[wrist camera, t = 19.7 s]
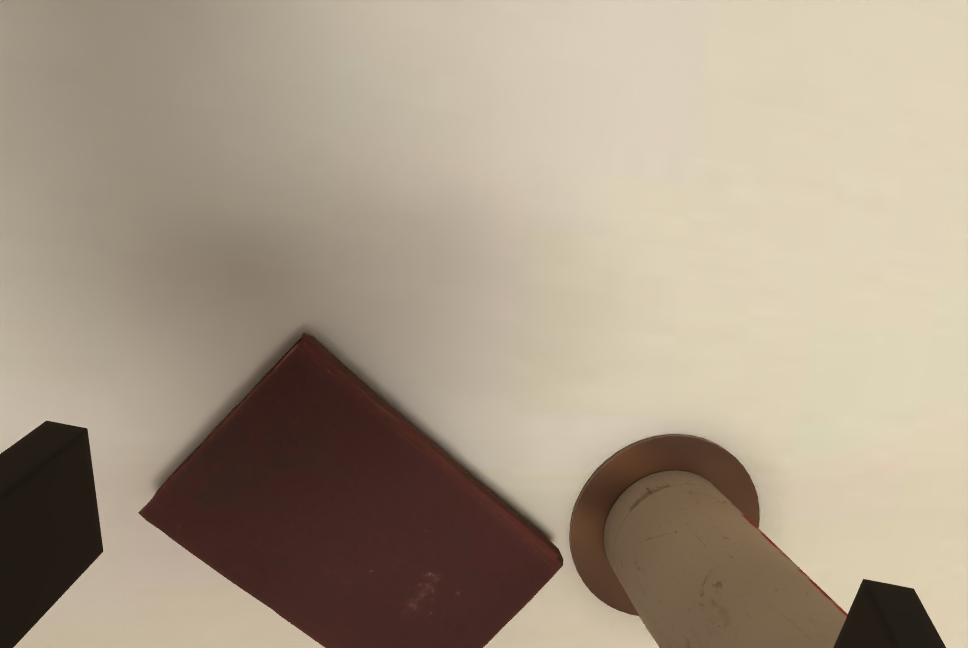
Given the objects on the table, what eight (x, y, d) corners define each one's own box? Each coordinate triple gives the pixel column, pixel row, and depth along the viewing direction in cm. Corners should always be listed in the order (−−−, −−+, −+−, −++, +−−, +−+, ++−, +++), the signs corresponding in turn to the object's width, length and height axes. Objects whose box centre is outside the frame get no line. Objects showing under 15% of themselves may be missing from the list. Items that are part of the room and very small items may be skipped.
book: (309, 324, 38) (302, 339, 35) (556, 539, 43) (570, 569, 40) (152, 489, 39) (132, 518, 36) (412, 682, 44) (414, 722, 40)
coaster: (597, 419, 42) (599, 420, 41) (781, 451, 44) (784, 453, 43) (548, 602, 44) (549, 605, 43) (726, 624, 46) (728, 627, 46)
